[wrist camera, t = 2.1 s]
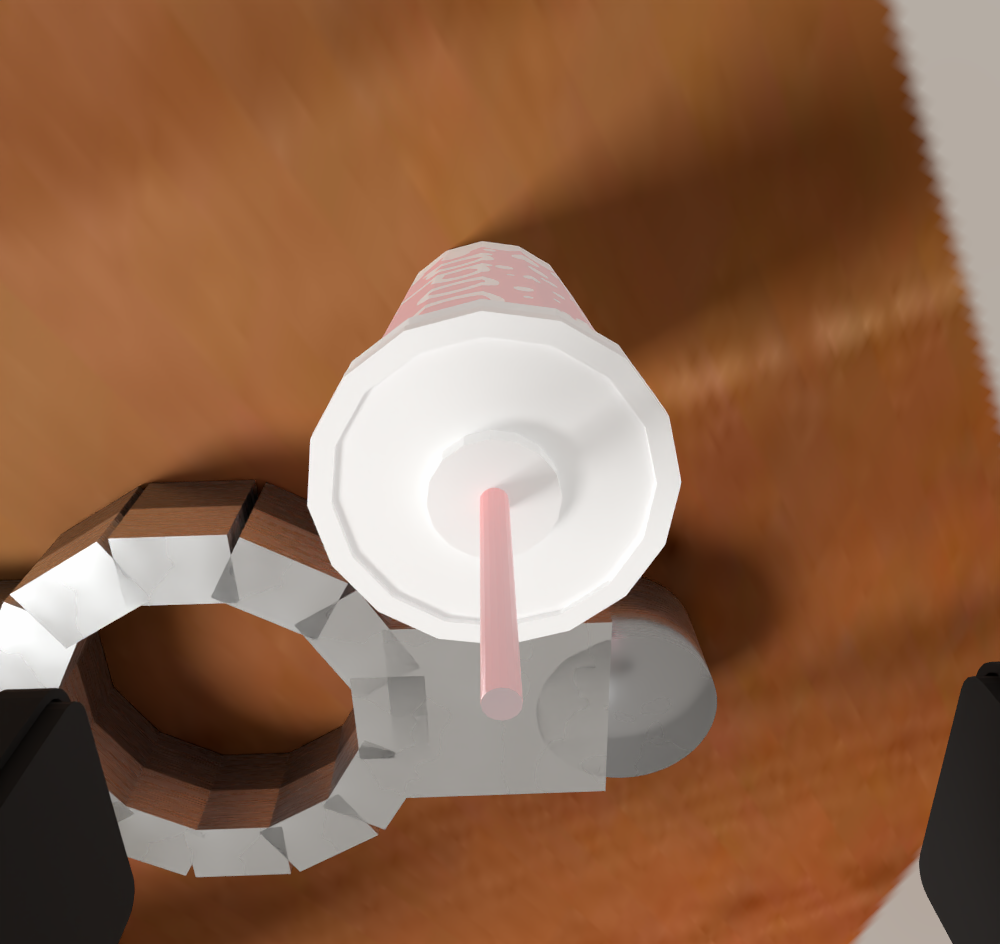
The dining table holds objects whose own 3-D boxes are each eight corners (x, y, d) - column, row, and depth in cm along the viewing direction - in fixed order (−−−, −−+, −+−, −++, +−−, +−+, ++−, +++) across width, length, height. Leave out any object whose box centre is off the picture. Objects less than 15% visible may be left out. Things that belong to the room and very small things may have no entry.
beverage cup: (606, 201, 21) (803, 435, 8) (608, 433, 23) (757, 877, 11) (353, 217, 21) (163, 475, 8) (383, 447, 24) (275, 906, 11)
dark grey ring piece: (-310, 497, 24) (-411, 555, 21) (420, 474, 24) (412, 528, 21) (-154, 813, 29) (-218, 892, 26) (443, 792, 29) (439, 868, 26)
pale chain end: (-17, 488, 24) (-80, 544, 21) (708, 465, 24) (737, 518, 21) (86, 805, 29) (46, 882, 26) (679, 784, 29) (699, 859, 27)
